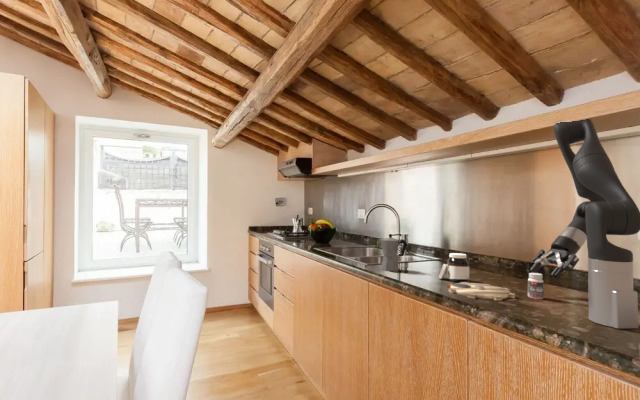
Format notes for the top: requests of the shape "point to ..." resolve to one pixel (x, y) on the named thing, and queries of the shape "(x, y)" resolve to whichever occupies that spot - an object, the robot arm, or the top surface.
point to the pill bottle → (535, 286)
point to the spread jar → (456, 268)
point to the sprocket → (480, 291)
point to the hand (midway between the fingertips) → (542, 274)
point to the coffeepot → (391, 253)
